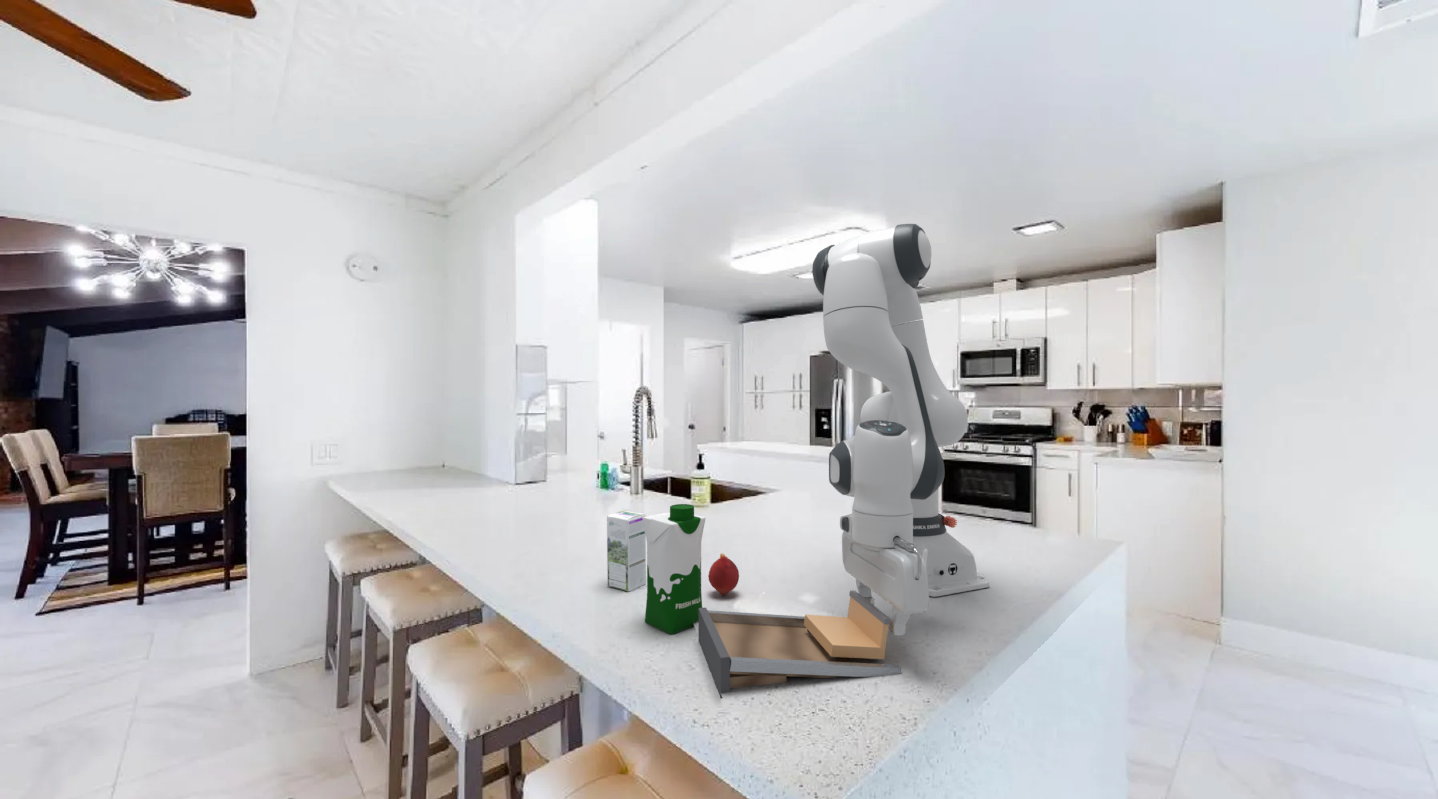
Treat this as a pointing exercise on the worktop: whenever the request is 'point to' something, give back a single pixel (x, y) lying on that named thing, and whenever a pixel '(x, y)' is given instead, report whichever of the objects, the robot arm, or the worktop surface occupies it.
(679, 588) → the milk carton
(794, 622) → the dock
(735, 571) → the onion
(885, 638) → the cart
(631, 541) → the syrup box
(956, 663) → the worktop surface
